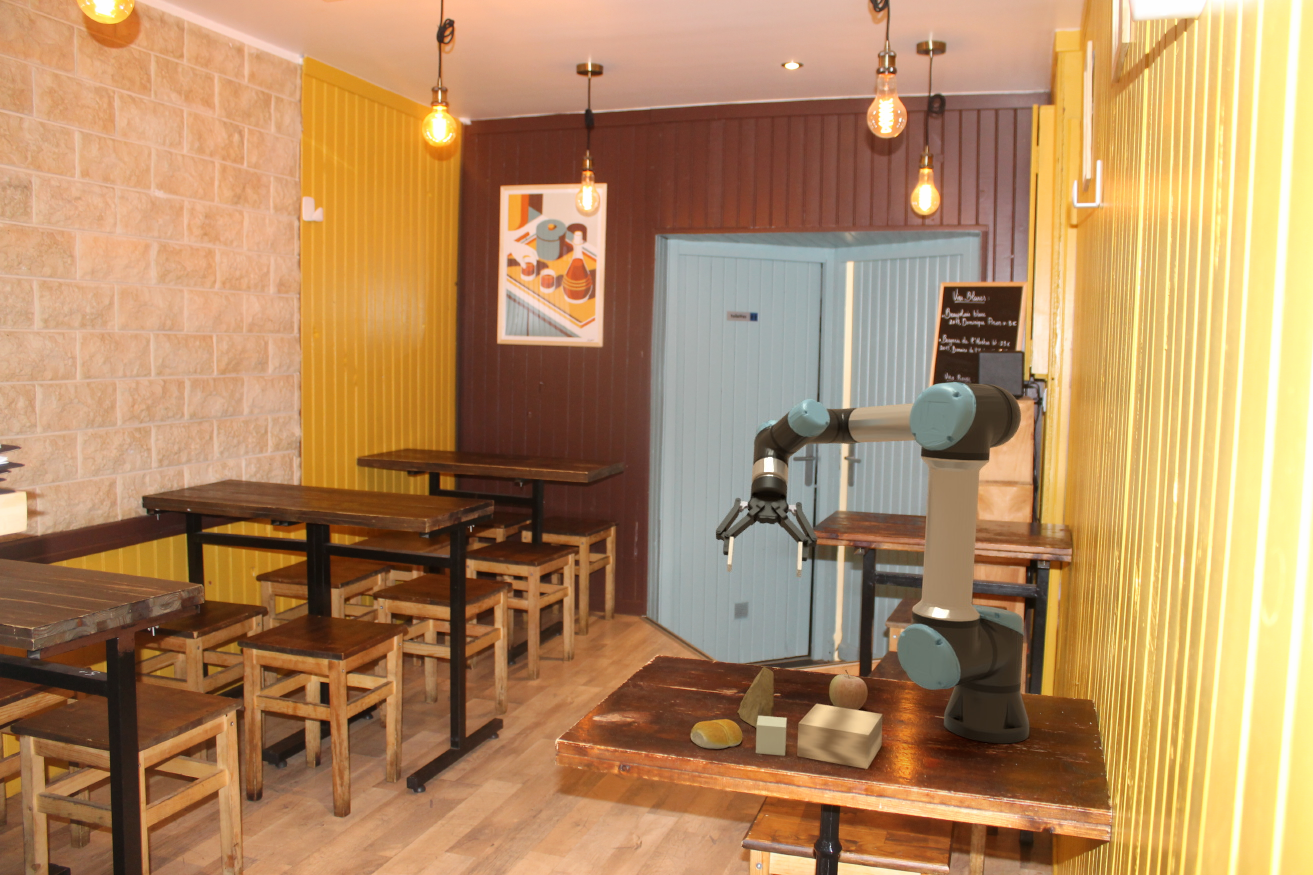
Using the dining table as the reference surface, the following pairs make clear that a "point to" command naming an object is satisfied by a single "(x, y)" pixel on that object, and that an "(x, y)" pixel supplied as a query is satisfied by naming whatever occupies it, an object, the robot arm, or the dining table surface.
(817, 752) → the beech block
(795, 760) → the dining table surface
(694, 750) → the dining table surface
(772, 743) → the pale cream cube
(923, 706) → the dining table surface
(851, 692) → the fruit
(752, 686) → the rock
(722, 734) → the bread roll
